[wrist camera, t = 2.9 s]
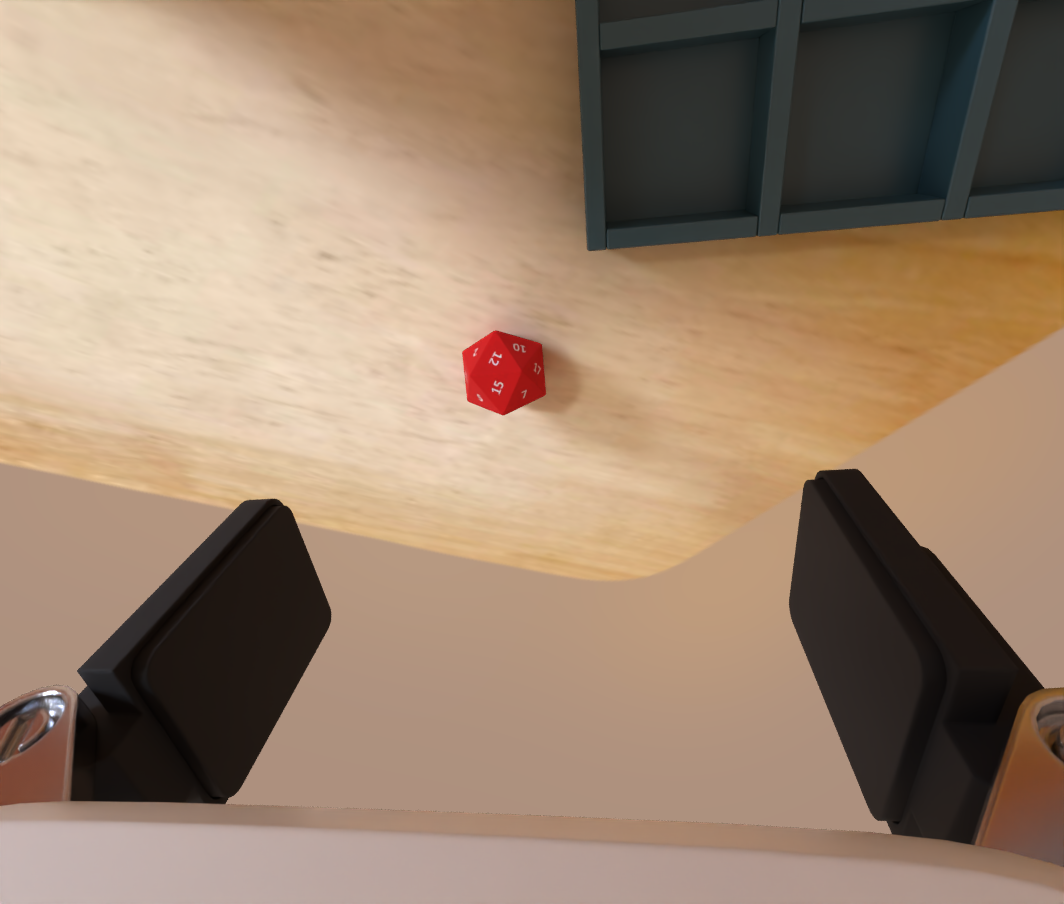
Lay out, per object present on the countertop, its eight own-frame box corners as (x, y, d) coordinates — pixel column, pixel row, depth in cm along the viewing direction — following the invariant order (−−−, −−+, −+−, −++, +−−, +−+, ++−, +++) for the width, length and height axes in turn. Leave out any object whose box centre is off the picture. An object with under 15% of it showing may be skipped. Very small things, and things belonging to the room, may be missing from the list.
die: (484, 428, 26) (517, 434, 22) (435, 371, 25) (460, 367, 21) (538, 377, 27) (578, 374, 23) (492, 319, 25) (526, 306, 22)
